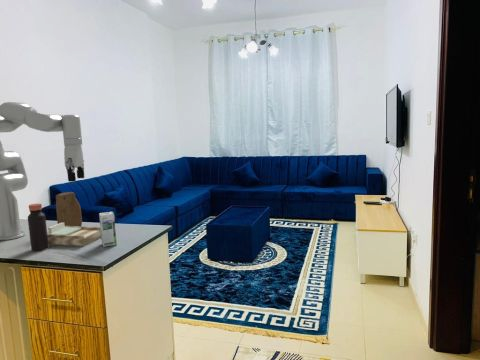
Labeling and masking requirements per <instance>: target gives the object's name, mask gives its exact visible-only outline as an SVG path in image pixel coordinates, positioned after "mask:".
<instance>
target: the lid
mask: <svg viewBox="0 0 480 360" xmlns="http://www.w3.org/2000/svg"><path fill="white" fill-rule="evenodd" d="M79 230H81V228H77V227H65V224H64V223H59V224H58V223H56V224H55V225H52V226H49V227H48V228H47V234H54V235H69V234H72V233H74V232H76V231H79Z"/></svg>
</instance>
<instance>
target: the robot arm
mask: <svg viewBox="0 0 480 360" xmlns="http://www.w3.org/2000/svg"><path fill="white" fill-rule="evenodd" d="M22 125H25V126H27V127H28V128H31V129H32V130H36V131H40V132H46V133H50V132H51V133H55V132H57V133H58V132H59V133H60V132H62V134H63V145H64V150H63V151H64V152H63V153H64V155H63V156H64V167H65V169H66V173H67V181H68V182H76V181H77V180H76V179H84V178H85V167H84V166H85V164H84V162H85V160H84V154H83V153H84V152H83V147H82V146H83V138H82V137H83V135H82V128H81V119H80V116H79V115H78V114H63V115H62V114H44V113H40V112H38V111H37V109H36V108H35V107H33V106H29V104H27V103H24V102H13V101H12V102H11V101H7V102H3V103H1V104H0V133H11V132H14V131H16V130H17V129H19V128H20V127H21V126H22ZM75 169H76V172H75ZM5 171H7V172H5ZM0 172H5V173H0V241H9V240H13V239H14V240H15V239H18V238H21V237H23V236H25V235H26V232H25V231H23V230H22V229H21V227H22V226H21V220H20V219H21V218H20V213H19V203H18V200H17V199H18V198H16V196H15V194H14V193H13V192H17V191H22V190H24V189H25V188H26V187H27V186H28V183H29V180H28V175H27V172H26V169H25V166H24V162H23V159H22V157H21V156H20V155H19V153H18V152H16V151H14V150H4V147H3V144H2V141H1V140H0Z"/></svg>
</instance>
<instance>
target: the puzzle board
mask: <svg viewBox="0 0 480 360" xmlns="http://www.w3.org/2000/svg"><path fill="white" fill-rule="evenodd" d="M65 227H77V228H81V230H79V231H76V232H74V233H72V234H69V235H54V234H47V236H48V245H49V246H65V247H66V246H68V247H86V246H87V245H90V244H92V243H93V242H95V241H98V240H100V239H101V229H100V226H82V225H81V226H65Z"/></svg>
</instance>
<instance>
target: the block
mask: <svg viewBox="0 0 480 360" xmlns="http://www.w3.org/2000/svg"><path fill="white" fill-rule="evenodd" d="M55 200H56V201H55V211H56V222H57V223H56V224H59V223H64V224H65V226H82V225H83V217H82V210H81V209H82V208H81V205H80V202H79V201H78V199H77V198H76V194H75V192H73V191H68V192H67V191H66V192H61V193H58V194H56V195H55Z"/></svg>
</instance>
